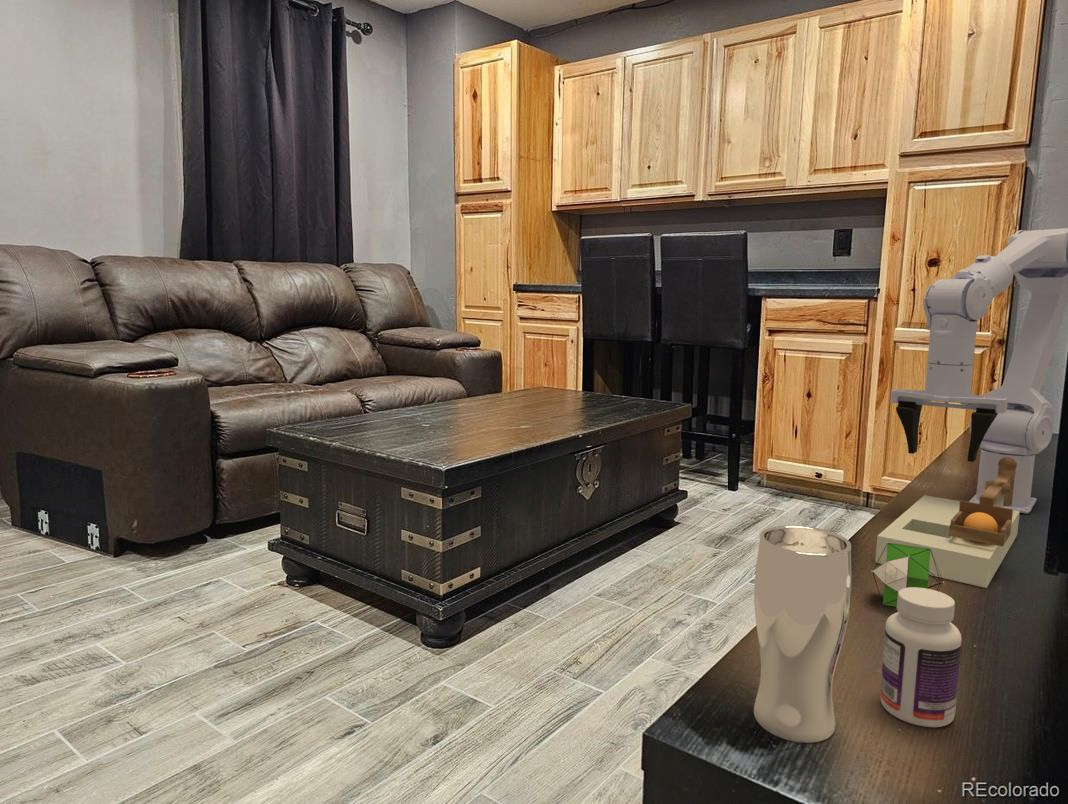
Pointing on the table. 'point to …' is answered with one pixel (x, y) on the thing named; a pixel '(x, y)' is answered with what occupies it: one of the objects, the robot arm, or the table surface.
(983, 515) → the ball
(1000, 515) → the lever
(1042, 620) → the table surface
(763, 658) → the beer glass
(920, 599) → the pill bottle
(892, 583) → the geometric puzzle
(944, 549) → the cream shape sorter
